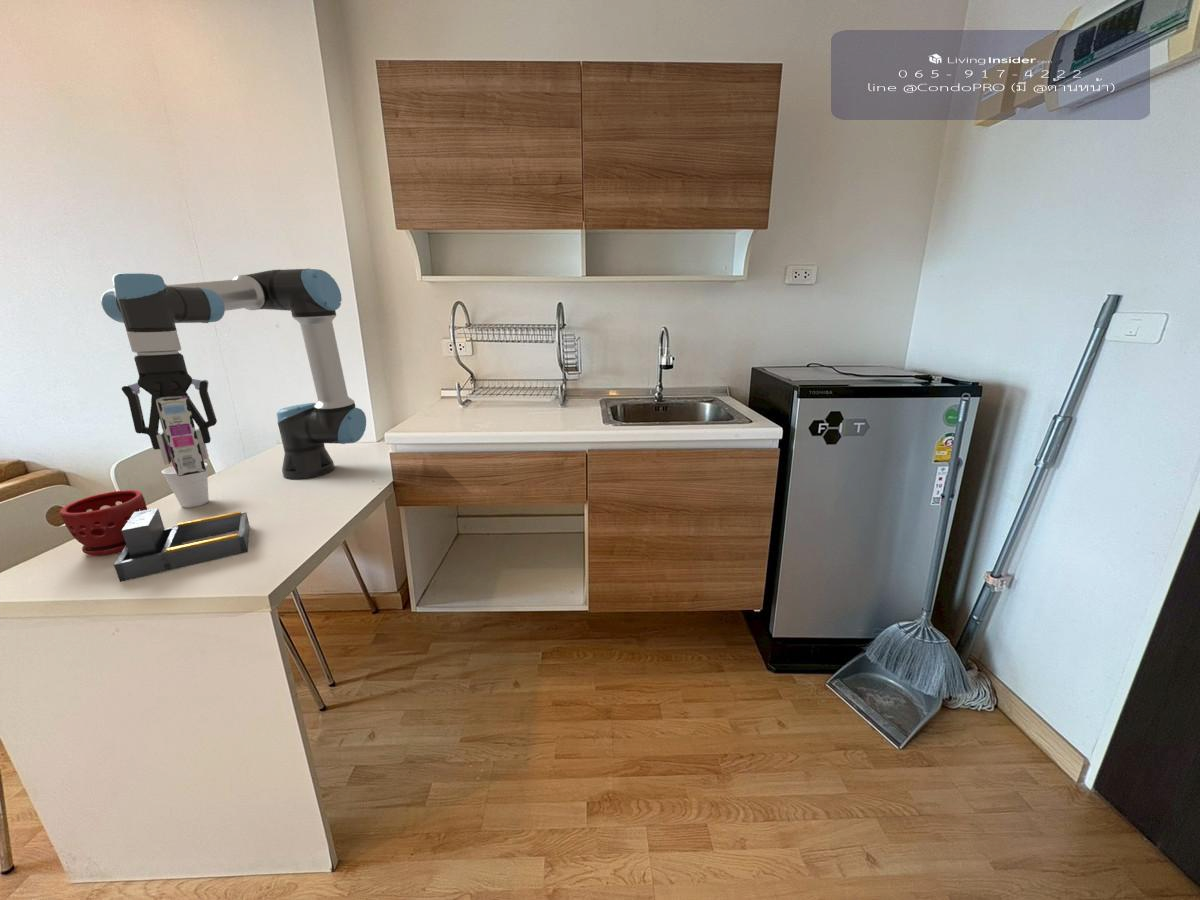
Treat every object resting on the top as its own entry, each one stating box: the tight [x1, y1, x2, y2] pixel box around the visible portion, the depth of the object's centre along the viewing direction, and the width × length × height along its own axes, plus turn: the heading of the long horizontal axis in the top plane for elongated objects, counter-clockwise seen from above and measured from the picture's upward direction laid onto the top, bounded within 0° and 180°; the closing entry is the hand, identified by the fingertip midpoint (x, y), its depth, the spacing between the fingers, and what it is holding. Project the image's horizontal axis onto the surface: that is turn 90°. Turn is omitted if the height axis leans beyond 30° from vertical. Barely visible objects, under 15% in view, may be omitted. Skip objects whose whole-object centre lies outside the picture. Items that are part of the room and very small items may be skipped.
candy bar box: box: [155, 396, 206, 476], centre depth 100 cm, size 11×5×16 cm, turn 46°
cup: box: [161, 462, 210, 509], centre depth 131 cm, size 10×10×11 cm
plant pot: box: [59, 489, 148, 557], centre depth 106 cm, size 13×13×12 cm
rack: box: [113, 507, 251, 583], centre depth 104 cm, size 21×16×10 cm
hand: (187, 460), depth 102 cm, fingers closed on candy bar box, 6 cm apart
